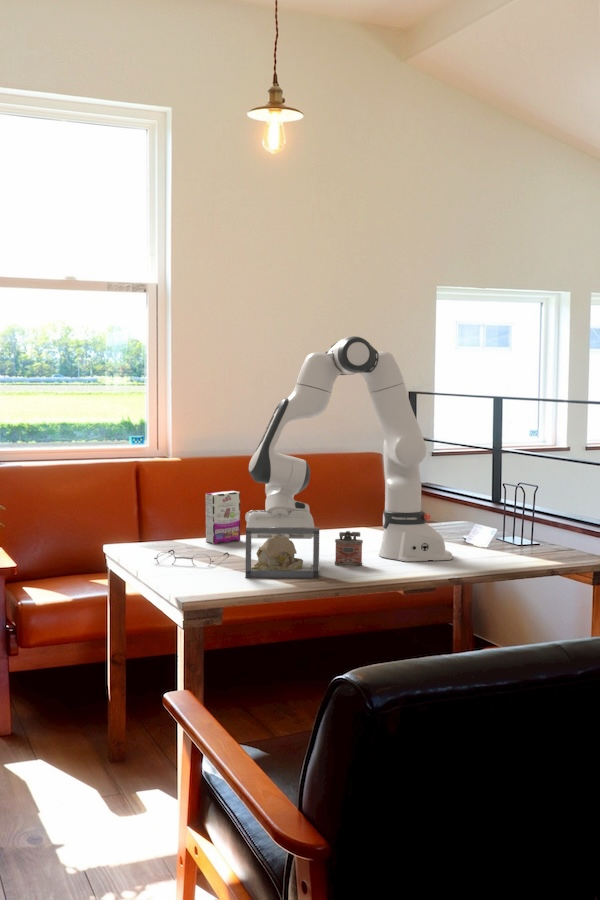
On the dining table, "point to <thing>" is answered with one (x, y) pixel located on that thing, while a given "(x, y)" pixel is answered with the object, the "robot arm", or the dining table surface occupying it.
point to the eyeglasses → (187, 557)
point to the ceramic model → (277, 555)
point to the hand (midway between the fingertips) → (280, 548)
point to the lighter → (348, 549)
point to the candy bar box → (222, 517)
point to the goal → (283, 573)
